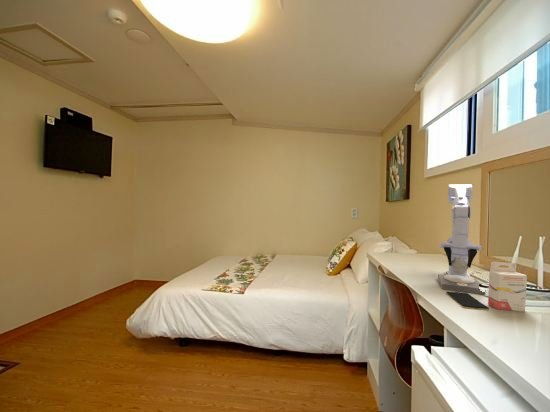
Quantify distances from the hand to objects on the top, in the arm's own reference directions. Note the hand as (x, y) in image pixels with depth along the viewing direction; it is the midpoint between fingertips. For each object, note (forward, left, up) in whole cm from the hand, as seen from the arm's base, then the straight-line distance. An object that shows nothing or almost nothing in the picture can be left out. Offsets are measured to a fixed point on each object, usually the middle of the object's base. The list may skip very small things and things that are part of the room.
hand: (459, 266), depth 116 cm
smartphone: (+22, -1, -8) cm, 23 cm away
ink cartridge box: (+23, +10, -8) cm, 26 cm away
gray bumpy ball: (0, -1, -3) cm, 4 cm away
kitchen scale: (+2, 0, -8) cm, 8 cm away
